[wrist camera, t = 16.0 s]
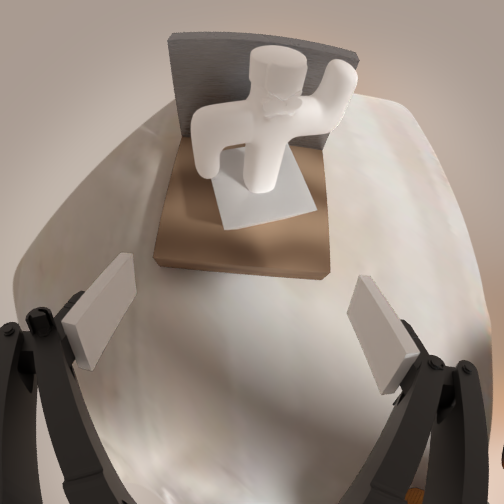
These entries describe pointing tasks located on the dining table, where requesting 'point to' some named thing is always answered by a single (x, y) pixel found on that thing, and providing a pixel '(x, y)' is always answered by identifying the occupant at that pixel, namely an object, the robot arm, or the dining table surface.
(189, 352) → the dining table surface
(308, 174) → the walnut shelf board
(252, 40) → the grey metal bookend
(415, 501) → the disposable coffee cup
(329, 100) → the figurine
